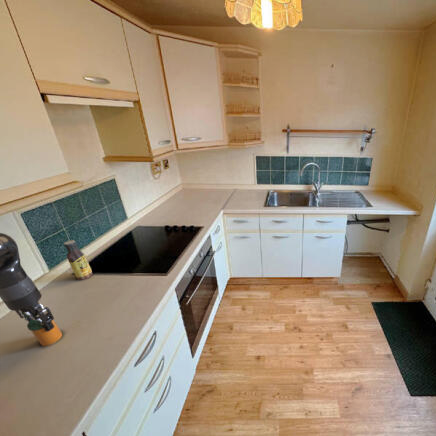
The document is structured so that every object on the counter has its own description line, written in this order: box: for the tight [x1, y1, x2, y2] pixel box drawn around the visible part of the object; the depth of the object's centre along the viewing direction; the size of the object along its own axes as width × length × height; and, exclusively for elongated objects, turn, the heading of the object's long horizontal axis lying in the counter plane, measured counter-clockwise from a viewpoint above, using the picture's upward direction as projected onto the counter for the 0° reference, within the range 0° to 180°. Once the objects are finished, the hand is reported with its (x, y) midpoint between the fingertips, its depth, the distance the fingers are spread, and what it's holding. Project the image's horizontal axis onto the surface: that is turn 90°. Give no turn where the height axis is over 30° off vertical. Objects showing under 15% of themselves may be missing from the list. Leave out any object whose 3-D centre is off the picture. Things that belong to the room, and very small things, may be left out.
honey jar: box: [31, 319, 63, 347], centre depth 82 cm, size 6×6×9 cm
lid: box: [26, 315, 43, 332], centre depth 80 cm, size 6×6×2 cm
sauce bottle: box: [63, 239, 93, 281], centre depth 111 cm, size 6×6×20 cm
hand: (43, 327), depth 81 cm, fingers closed on lid, 5 cm apart
